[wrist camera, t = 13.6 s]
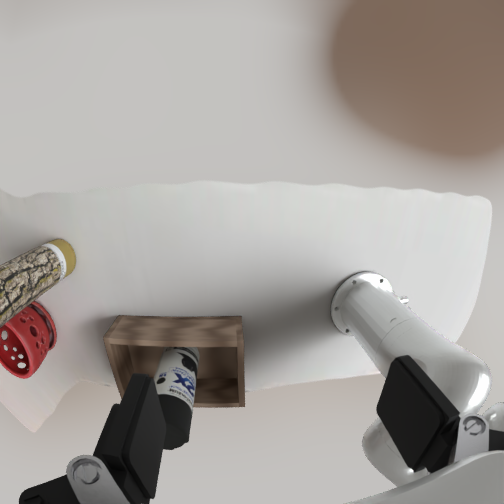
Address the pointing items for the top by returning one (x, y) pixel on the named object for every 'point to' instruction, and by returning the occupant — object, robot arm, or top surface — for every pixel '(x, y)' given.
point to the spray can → (177, 392)
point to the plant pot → (27, 340)
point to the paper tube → (33, 276)
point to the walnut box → (182, 335)
